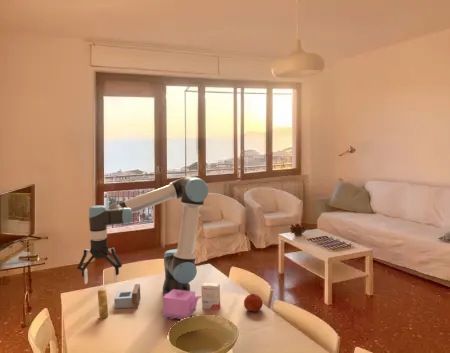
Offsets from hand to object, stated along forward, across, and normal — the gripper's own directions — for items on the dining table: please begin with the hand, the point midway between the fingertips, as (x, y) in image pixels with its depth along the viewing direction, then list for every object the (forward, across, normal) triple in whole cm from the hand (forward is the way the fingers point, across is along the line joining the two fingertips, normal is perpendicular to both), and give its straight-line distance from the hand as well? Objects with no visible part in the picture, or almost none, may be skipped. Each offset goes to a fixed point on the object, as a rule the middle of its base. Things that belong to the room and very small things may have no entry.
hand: (101, 282), depth 176 cm
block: (+17, -9, -12) cm, 23 cm away
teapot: (+17, -38, +6) cm, 42 cm away
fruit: (+17, -72, +5) cm, 74 cm away
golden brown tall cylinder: (+17, 0, 0) cm, 17 cm away
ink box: (+17, -52, -2) cm, 55 cm away
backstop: (+17, -14, -12) cm, 25 cm away
